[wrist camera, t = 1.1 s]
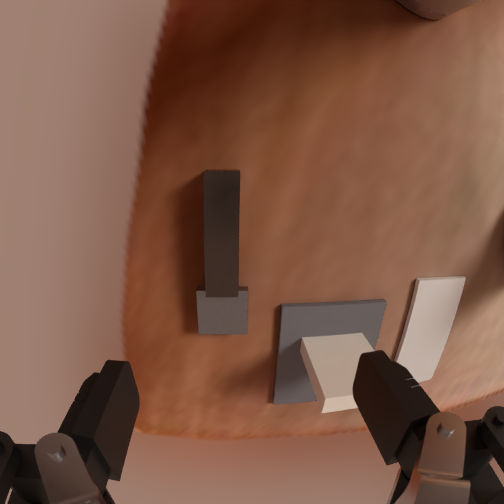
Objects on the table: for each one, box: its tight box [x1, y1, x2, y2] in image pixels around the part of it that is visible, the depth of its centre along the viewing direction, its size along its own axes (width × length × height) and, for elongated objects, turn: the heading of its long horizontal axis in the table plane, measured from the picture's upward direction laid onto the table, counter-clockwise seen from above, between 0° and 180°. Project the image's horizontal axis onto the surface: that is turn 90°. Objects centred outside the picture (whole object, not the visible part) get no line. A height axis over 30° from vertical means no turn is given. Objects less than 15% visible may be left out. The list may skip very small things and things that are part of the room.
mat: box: [273, 299, 386, 405], centre depth 27 cm, size 12×10×1 cm
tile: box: [300, 333, 374, 413], centre depth 23 cm, size 2×6×8 cm, turn 88°
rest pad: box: [394, 276, 466, 382], centre depth 28 cm, size 14×7×1 cm, turn 179°
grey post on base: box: [196, 170, 248, 334], centre depth 22 cm, size 13×4×3 cm, turn 179°
